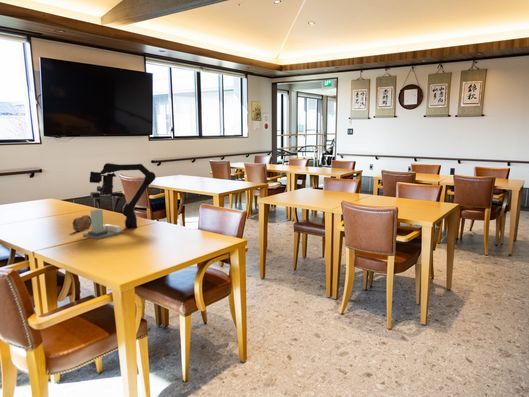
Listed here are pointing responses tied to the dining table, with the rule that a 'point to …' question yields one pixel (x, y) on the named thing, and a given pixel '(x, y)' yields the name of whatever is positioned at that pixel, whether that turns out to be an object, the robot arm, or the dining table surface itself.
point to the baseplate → (105, 232)
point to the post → (97, 221)
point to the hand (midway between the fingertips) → (106, 208)
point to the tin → (81, 223)
